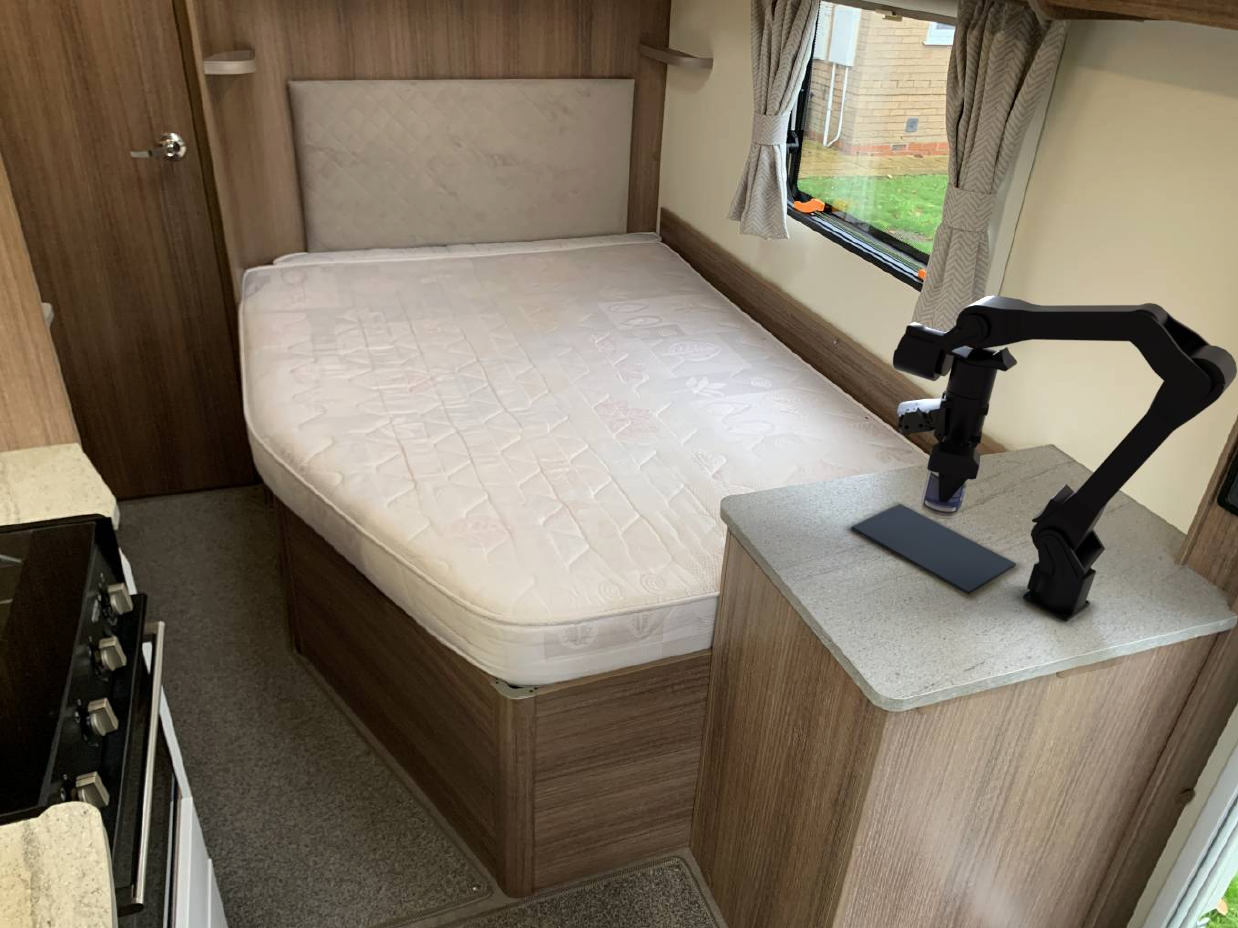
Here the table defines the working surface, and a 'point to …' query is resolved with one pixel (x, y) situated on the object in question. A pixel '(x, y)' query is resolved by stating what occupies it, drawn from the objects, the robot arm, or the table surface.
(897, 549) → the rubber mat
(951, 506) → the pill bottle
